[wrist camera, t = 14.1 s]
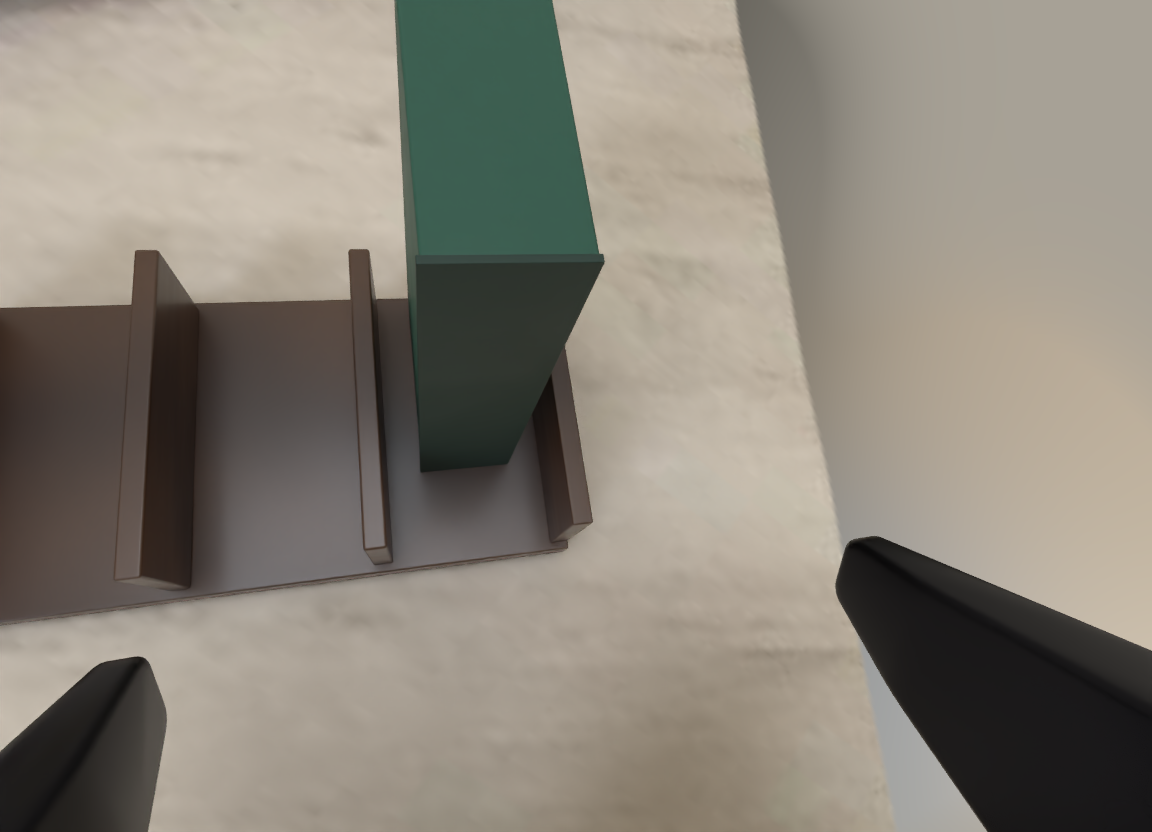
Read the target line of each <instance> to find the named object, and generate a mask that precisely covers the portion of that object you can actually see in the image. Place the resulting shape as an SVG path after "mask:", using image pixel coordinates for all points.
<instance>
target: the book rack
mask: <svg viewBox="0 0 1152 832" xmlns="http://www.w3.org/2000/svg"><path fill="white" fill-rule="evenodd" d="M348 254H349V274H350V295H351V300H324V301H281V302H238V303H196V304H194V302H193V301H192V299H191V298H190V296H189V295H188V293H187V292H186V290H185V289H184V288H183V286H182V285H181V283H180V282H179V280H178V279H177V277H176V276H175V274H174V273H173V271H172V270H171V269H170V267H169V266H168V264H167V263H166V261H165V260H164V258H163V257H162V255H161V254H160V252H159V251H157V250H137V251H135V260H134V275H133V290H132V305H110V306H67V307H25V308H0V625H7V624H15V623H22V622H30V621H37V620H45V619H53V618H60V617H68V616H75V615H83V614H91V613H98V612H106V611H113V610H121V609H129V608H136V607H144V606H151V605H159V604H166V603H174V602H182V601H189V600H197V599H204V598H212V597H220V596H227V595H235V594H242V593H250V592H258V591H265V590H273V589H280V588H288V587H295V586H303V585H311V584H318V583H326V582H333V581H341V580H349V579H356V578H364V577H371V576H379V575H386V574H394V573H402V572H409V571H417V570H424V569H432V568H440V567H447V566H455V565H462V564H470V563H478V562H485V561H493V560H500V559H508V558H515V557H523V556H531V555H538V554H546V553H553V552H561V551H564V550H565V549H567V548H568V542H567V540H568V539H570V538H571V537H573V536H574V535H575V534H577V533H578V532H580V531H581V530H583V529H584V528H586V527H587V526H589V525H590V524H591V523H593V519H592V513H591V507H590V500H589V494H588V488H587V481H586V475H585V469H584V463H583V456H582V450H581V444H580V438H579V431H578V425H577V419H576V413H575V406H574V400H573V394H572V387H571V381H570V375H569V369H568V362H567V356H566V350H565V346H564V348H563V350H562V352H561V354H560V356H559V358H558V360H557V362H556V365H555V367H554V369H553V371H552V373H551V375H550V377H549V379H548V381H547V383H546V385H545V387H544V390H543V392H542V394H541V396H540V398H539V400H538V402H537V404H536V406H535V408H534V410H533V412H532V415H531V417H530V419H529V421H528V423H527V425H526V427H525V429H524V431H523V433H522V435H521V437H520V440H519V442H518V444H517V446H516V448H515V450H514V452H513V454H512V456H511V458H510V460H509V462H508V464H504V465H494V466H483V467H472V468H461V469H451V470H440V471H429V472H420V453H419V431H418V419H417V406H416V394H415V381H414V369H413V357H412V344H411V332H410V319H409V306H408V299H376V296H375V289H374V282H373V274H372V267H371V260H370V253H369V250H367V249H351V250H349V252H348Z"/></svg>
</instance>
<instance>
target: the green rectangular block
mask: <svg viewBox="0 0 1152 832" xmlns="http://www.w3.org/2000/svg"><path fill="white" fill-rule="evenodd" d="M394 1H395V23H396V45H397V66H398V88H399V110H400V132H401V154H402V175H403V197H404V219H405V241H406V263H407V284H408V306H409V319H410V332H411V344H412V357H413V369H414V381H415V394H416V406H417V419H418V431H419V453H420V472H429V471H440V470H451V469H461V468H472V467H483V466H494V465H504V464H508V462H509V460H510V458H511V456H512V454H513V452H514V450H515V448H516V446H517V444H518V442H519V440H520V437H521V435H522V433H523V431H524V429H525V427H526V425H527V423H528V421H529V419H530V417H531V415H532V412H533V410H534V408H535V406H536V404H537V402H538V400H539V398H540V396H541V394H542V392H543V390H544V387H545V385H546V383H547V381H548V379H549V377H550V375H551V373H552V371H553V369H554V367H555V365H556V362H557V360H558V358H559V356H560V354H561V352H562V350H563V348H564V346H565V344H566V342H567V340H568V337H569V335H570V333H571V331H572V329H573V327H574V325H575V323H576V321H577V319H578V317H579V315H580V312H581V310H582V308H583V306H584V304H585V302H586V300H587V298H588V296H589V294H590V292H591V290H592V287H593V285H594V283H595V281H596V279H597V277H598V275H599V273H600V271H601V269H602V267H603V265H604V262H605V261H604V256H603V254H599V250H598V245H597V239H596V234H595V228H594V223H593V218H592V212H591V207H590V202H589V196H588V191H587V185H586V180H585V175H584V169H583V164H582V159H581V153H580V148H579V142H578V137H577V132H576V126H575V121H574V116H573V110H572V105H571V100H570V94H569V89H568V83H567V78H566V73H565V67H564V62H563V57H562V51H561V46H560V40H559V35H558V30H557V24H556V19H555V14H554V8H553V3H552V0H394Z"/></svg>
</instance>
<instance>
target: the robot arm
mask: <svg viewBox="0 0 1152 832" xmlns="http://www.w3.org/2000/svg"><path fill="white" fill-rule="evenodd" d="M835 588H836V594H837V597H838V599H839V602H840V603H841V605H842V607H843V609H844V610H845V612H846V614H847V616H848V617H849V619H850V621H851V623H852V625H853V626H854V628H855V630H856V632H857V633H858V635H859V637H860V639H861V640H862V642H863V644H864V646H865V647H866V649H867V651H868V653H869V654H870V656H871V658H872V660H873V661H874V663H875V665H876V667H877V669H878V670H879V672H880V674H881V676H882V677H883V679H884V681H885V682H886V684H887V686H888V687H889V689H890V691H891V692H892V694H893V696H894V697H895V698H896V700H897V702H898V703H899V705H900V706H901V708H902V709H903V711H904V712H905V713H906V715H907V716H908V718H909V719H910V721H911V722H912V724H913V725H914V727H915V728H916V729H917V731H918V732H919V734H920V735H921V737H922V738H923V740H924V741H925V742H926V744H927V745H928V747H929V748H930V750H931V751H932V753H933V754H934V755H935V757H936V758H937V760H938V761H939V762H940V764H941V766H942V767H943V768H944V770H945V771H946V773H947V774H948V776H949V777H950V779H951V780H952V781H953V783H954V784H955V786H956V787H957V789H958V790H959V792H960V793H961V794H962V796H963V797H964V799H965V800H966V802H967V803H968V804H969V806H970V807H971V809H972V810H973V812H974V813H975V815H976V816H977V818H978V819H979V820H980V822H981V823H982V824H983V826H984V827H985V829H986V830H987V832H1152V651H1151V650H1148V649H1146V648H1144V647H1141V646H1139V645H1137V644H1134V643H1132V642H1129V641H1127V640H1125V639H1122V638H1120V637H1117V636H1115V635H1113V634H1110V633H1108V632H1106V631H1103V630H1101V629H1098V628H1096V627H1093V626H1091V625H1089V624H1086V623H1084V622H1082V621H1079V620H1077V619H1075V618H1072V617H1070V616H1067V615H1065V614H1063V613H1060V612H1058V611H1055V610H1053V609H1051V608H1048V607H1046V606H1044V605H1041V604H1039V603H1036V602H1034V601H1032V600H1029V599H1027V598H1024V597H1022V596H1020V595H1017V594H1015V593H1012V592H1010V591H1008V590H1005V589H1003V588H1001V587H998V586H996V585H993V584H991V583H988V582H986V581H984V580H981V579H979V578H977V577H974V576H972V575H969V574H967V573H965V572H962V571H960V570H958V569H955V568H952V567H950V566H948V565H946V564H943V563H941V562H938V561H936V560H934V559H931V558H929V557H927V556H924V555H922V554H919V553H917V552H914V551H912V550H910V549H907V548H905V547H902V546H900V545H898V544H896V543H893V542H891V541H888V540H886V539H884V538H881V537H877V536H870V537H865V538H858V539H853V540H851V541H850V542H849V543H848V544H847V545H846V548H845V551H844V554H843V558H842V561H841V565H840V568H839V572H838V575H837V579H836V584H835ZM166 723H167V715H166V708H165V704H164V702H163V699H162V696H161V693H160V691H159V688H158V685H157V682H156V680H155V677H154V674H153V671H152V669H151V666H150V664H149V662H148V661H147V660H146V659H145V658H143V657H131V658H125V659H119V660H113V661H107V662H104V663H101V664H99V665H97V666H96V667H94V668H93V669H92V670H91V671H90V672H88V673H87V674H86V675H85V676H84V677H83V678H82V679H81V680H79V681H78V682H77V683H76V684H75V685H74V686H73V687H72V688H71V689H69V690H68V691H67V692H66V693H65V694H64V695H63V696H62V697H61V698H59V699H58V700H57V701H56V702H55V703H54V704H53V705H52V706H51V707H49V708H48V709H47V710H46V711H45V712H44V713H43V714H42V715H40V716H39V717H38V718H37V719H36V720H35V721H34V722H33V723H32V724H30V725H29V726H28V727H27V728H26V729H25V730H24V731H23V732H22V733H20V734H19V735H18V736H17V737H16V738H15V739H14V740H13V741H12V742H10V743H9V744H8V745H7V746H6V747H5V748H4V749H3V750H1V751H0V832H148V828H149V823H150V817H151V811H152V806H153V800H154V795H155V789H156V783H157V778H158V772H159V766H160V761H161V755H162V749H163V744H164V738H165V732H166Z"/></svg>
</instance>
